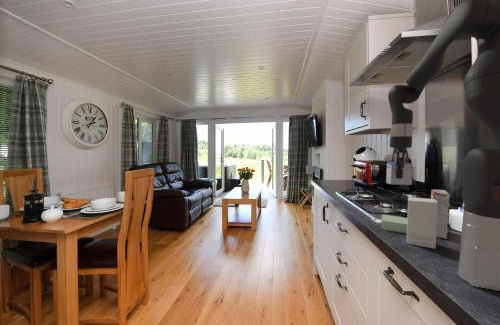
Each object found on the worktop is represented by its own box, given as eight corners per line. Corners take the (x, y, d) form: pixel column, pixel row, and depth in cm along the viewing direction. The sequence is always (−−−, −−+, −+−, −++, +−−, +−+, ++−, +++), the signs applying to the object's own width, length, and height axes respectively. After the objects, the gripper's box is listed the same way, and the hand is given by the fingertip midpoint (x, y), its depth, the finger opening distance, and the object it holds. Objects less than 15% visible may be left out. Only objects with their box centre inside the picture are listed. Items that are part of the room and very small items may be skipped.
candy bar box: (428, 228, 98) (431, 188, 97) (443, 230, 96) (446, 190, 94) (430, 236, 89) (434, 193, 88) (448, 239, 86) (451, 195, 85)
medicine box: (406, 183, 98) (407, 162, 98) (412, 185, 94) (413, 163, 93) (385, 183, 99) (386, 162, 99) (390, 184, 95) (391, 162, 94)
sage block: (410, 235, 91) (411, 224, 91) (381, 230, 96) (381, 220, 96) (408, 227, 100) (409, 218, 99) (381, 223, 105) (382, 214, 105)
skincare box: (434, 243, 83) (437, 199, 82) (435, 250, 77) (439, 203, 76) (405, 237, 87) (408, 196, 86) (405, 243, 82) (408, 199, 81)
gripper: (414, 134, 87) (411, 180, 88) (410, 136, 100) (408, 176, 101) (390, 134, 91) (388, 178, 92) (390, 137, 103) (388, 175, 104)
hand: (398, 177), depth 96 cm, fingers closed on medicine box, 5 cm apart
